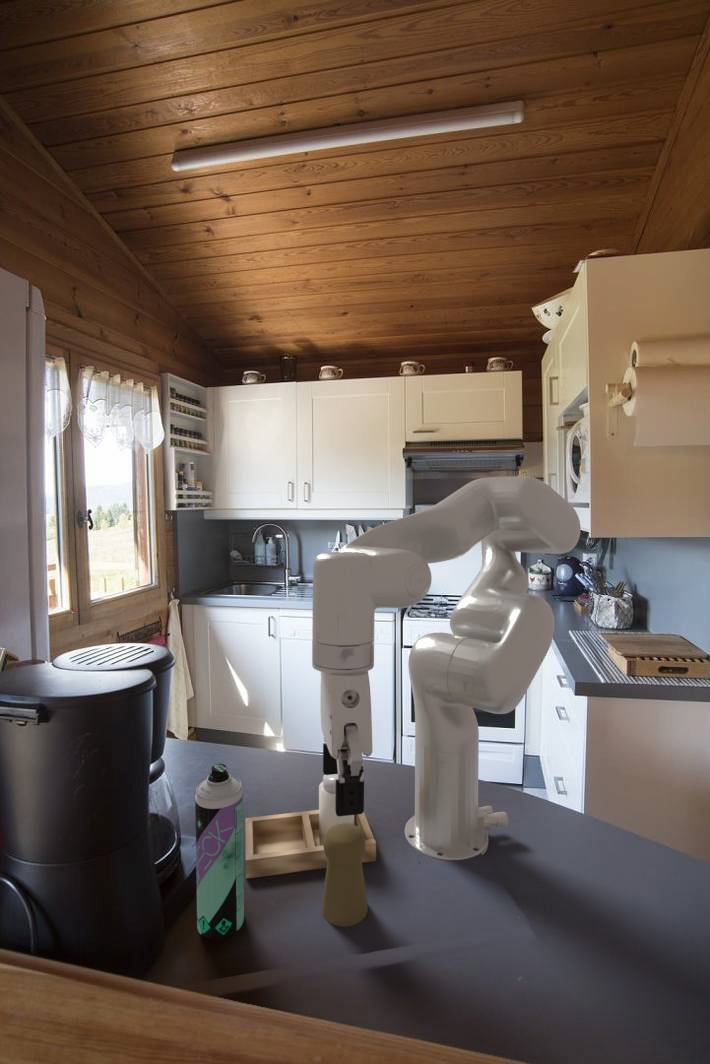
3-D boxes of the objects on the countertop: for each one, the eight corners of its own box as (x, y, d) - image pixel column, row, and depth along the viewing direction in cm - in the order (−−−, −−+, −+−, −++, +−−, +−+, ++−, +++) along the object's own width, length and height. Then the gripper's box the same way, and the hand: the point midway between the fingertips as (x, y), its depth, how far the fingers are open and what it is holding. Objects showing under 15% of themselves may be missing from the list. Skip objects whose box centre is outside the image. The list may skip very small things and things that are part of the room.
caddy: (360, 826, 86) (360, 804, 86) (376, 867, 76) (375, 843, 76) (245, 840, 82) (245, 818, 82) (246, 885, 72) (245, 860, 72)
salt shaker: (350, 830, 83) (350, 767, 83) (357, 851, 78) (357, 784, 77) (317, 834, 82) (316, 770, 82) (322, 856, 77) (321, 788, 76)
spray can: (205, 911, 68) (203, 755, 67) (248, 912, 68) (246, 756, 67) (190, 946, 62) (188, 777, 61) (237, 948, 62) (235, 778, 61)
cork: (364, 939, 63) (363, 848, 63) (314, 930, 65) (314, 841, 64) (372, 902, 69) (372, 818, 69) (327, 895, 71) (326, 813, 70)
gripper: (392, 672, 58) (390, 829, 58) (358, 636, 75) (357, 758, 75) (322, 676, 56) (321, 837, 57) (304, 638, 73) (303, 762, 74)
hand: (341, 792), depth 66 cm, fingers open, 9 cm apart
